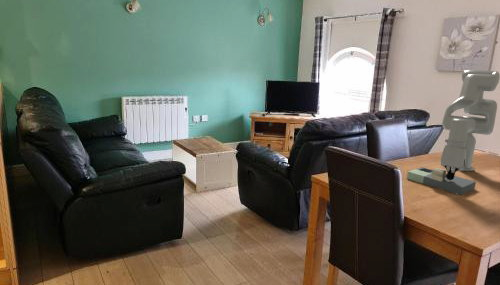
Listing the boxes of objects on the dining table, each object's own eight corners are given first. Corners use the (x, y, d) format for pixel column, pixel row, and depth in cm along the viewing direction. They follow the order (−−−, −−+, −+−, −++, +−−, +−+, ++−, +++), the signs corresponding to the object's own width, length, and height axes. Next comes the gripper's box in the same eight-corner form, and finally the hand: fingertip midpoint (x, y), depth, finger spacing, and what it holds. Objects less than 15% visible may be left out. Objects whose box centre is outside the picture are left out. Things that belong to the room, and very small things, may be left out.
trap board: (420, 173, 204) (421, 167, 203) (474, 189, 183) (475, 181, 182) (406, 178, 196) (407, 171, 195) (461, 195, 174) (462, 187, 173)
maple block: (434, 176, 187) (436, 167, 186) (444, 179, 184) (446, 170, 183) (430, 178, 184) (432, 169, 183) (441, 181, 180) (442, 172, 179)
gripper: (437, 141, 180) (431, 176, 184) (469, 148, 169) (462, 185, 173) (444, 140, 185) (438, 174, 189) (476, 146, 173) (469, 182, 177)
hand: (449, 179), depth 181 cm, fingers closed
